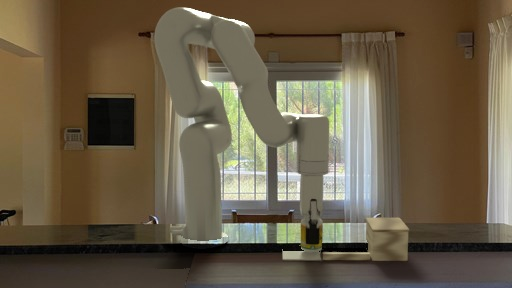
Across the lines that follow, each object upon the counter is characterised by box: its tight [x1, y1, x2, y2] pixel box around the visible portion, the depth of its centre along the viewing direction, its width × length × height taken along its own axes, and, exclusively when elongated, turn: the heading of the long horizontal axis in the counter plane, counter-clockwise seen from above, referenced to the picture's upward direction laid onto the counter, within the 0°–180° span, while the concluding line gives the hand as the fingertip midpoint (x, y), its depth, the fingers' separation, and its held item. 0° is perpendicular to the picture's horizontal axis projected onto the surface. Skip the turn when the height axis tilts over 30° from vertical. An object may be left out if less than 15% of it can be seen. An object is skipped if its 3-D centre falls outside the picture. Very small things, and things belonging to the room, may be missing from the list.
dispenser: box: [318, 217, 410, 262], centre depth 117 cm, size 21×10×8 cm, turn 87°
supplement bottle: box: [300, 213, 324, 252], centre depth 117 cm, size 5×5×10 cm
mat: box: [282, 250, 321, 261], centre depth 118 cm, size 9×9×1 cm
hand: (311, 238), depth 118 cm, fingers closed on supplement bottle, 5 cm apart
